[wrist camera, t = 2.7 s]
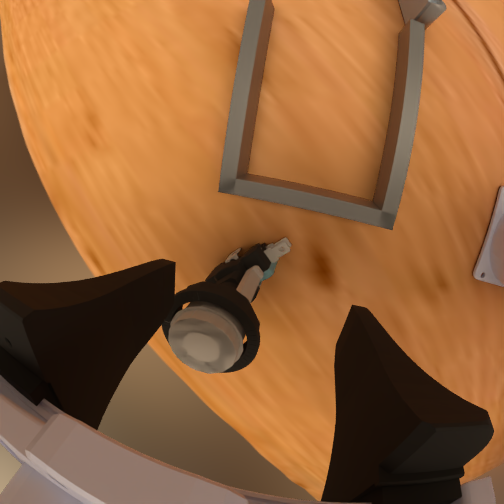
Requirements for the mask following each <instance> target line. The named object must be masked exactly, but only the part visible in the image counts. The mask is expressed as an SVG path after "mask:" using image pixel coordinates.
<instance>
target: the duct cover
mask: <svg viewBox="0 0 504 504" xmlns="http://www.w3.org/2000/svg"><path fill="white" fill-rule="evenodd" d="M398 1H399V4H400V8H401V11H402V14H403V18H404V21H405V25H406V23H407V22H408V21H409V20H410V19H413V20H415V21H418V22H421V23H423V24H425V30H426V29H427V28H428V27H429V26H430V25H431V24H432V23H433V22H434V21H435V20H436V19H437V18H438V17H439V16H440V15H441V14H442V13H443V12H444V11H445V10H446V5H445V3H444V2H443V1H442V0H398Z"/></svg>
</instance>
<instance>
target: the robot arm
mask: <svg viewBox="0 0 504 504" xmlns="http://www.w3.org/2000/svg"><path fill="white" fill-rule="evenodd" d="M175 265H176V262H173V261H169V260H165V259H159V260H154V261H151V262H147V263H144V264H141V265H138V266H134V267H131V268H128V269H125V270H121V271H118V272H114V273H111V274H107V275H103V276H99V277H95V278H90V279H85V280H79V281H71V282H61V283H19V282H10V281H3V282H1V283H0V443H1V444H2V445H3V446H4V447H5V448H6V449H7V450H8V451H9V452H10V453H11V454H12V455H13V456H14V457H15V458H16V459H17V460H18V461H19V462H20V463H21V464H22V466H21V467H20V468H19V470H18V471H17V472H16V474H15V475H14V476H13V478H12V479H11V481H10V482H9V483H8V485H7V486H6V487H5V489H4V490H3V491H2V493H1V494H0V504H496V500H495V495H494V490H493V485H492V480H491V477H490V476H488V477H485V478H481V479H477V480H473V481H469V482H467V483H464V484H462V485H460V480H459V478H461V477H463V476H464V468H463V466H464V465H465V464H466V463H468V462H469V461H470V460H471V459H472V458H474V457H475V456H476V455H477V454H478V453H479V452H480V451H482V450H483V449H484V448H485V446H486V445H487V444H488V443H489V441H490V440H491V438H492V436H493V433H494V429H493V426H492V423H491V420H490V417H489V414H488V412H487V411H486V410H484V409H482V408H480V407H478V406H476V405H474V404H472V403H470V402H468V401H466V400H464V399H462V398H461V397H459V396H458V395H456V394H454V393H453V392H451V391H450V390H448V389H447V388H445V387H444V386H442V385H441V384H440V383H438V382H437V381H436V380H434V379H433V378H432V377H430V376H429V375H428V374H427V373H426V372H424V371H423V370H422V369H421V368H420V367H419V366H418V365H417V364H416V363H415V362H413V361H412V360H411V359H410V358H409V357H408V356H407V355H406V353H405V352H404V351H403V350H402V349H401V348H400V347H399V346H398V345H397V344H396V342H395V341H394V340H393V339H392V338H391V336H390V335H389V334H388V333H387V332H386V330H385V329H384V328H383V327H382V325H381V324H380V323H379V322H378V320H377V319H376V318H375V317H374V316H373V314H372V313H371V312H370V311H369V310H368V309H367V308H365V307H361V306H356V305H352V306H351V309H350V311H349V314H348V317H347V319H346V322H345V324H344V327H343V329H342V331H341V334H340V336H339V339H338V341H337V343H336V350H335V363H334V370H335V392H336V424H335V433H334V441H333V448H332V454H331V460H330V465H329V470H328V475H327V479H326V484H325V488H324V491H323V495H322V499H321V501H310V500H300V499H292V498H285V497H278V496H272V495H266V494H261V493H256V492H251V491H247V490H242V489H238V488H234V487H230V486H226V485H223V484H220V483H218V482H215V481H212V480H209V479H207V478H205V477H202V476H199V475H197V474H194V473H191V472H188V471H185V470H182V469H179V468H177V467H174V466H171V465H169V464H166V463H164V462H161V461H159V460H156V459H154V458H152V457H149V456H147V455H145V454H142V453H140V452H138V451H136V450H134V449H131V448H129V447H127V446H125V445H123V444H121V443H119V442H117V441H115V440H114V439H112V438H110V437H108V436H106V435H104V434H102V433H101V432H99V431H97V429H98V427H99V424H100V422H101V420H102V417H103V415H104V413H105V411H106V409H107V406H108V404H109V402H110V400H111V398H112V396H113V394H114V392H115V391H116V389H117V387H118V385H119V383H120V381H121V380H122V378H123V376H124V374H125V373H126V371H127V369H128V368H129V366H130V364H131V363H132V362H133V360H134V359H135V357H136V356H137V355H138V353H139V352H140V351H141V349H142V348H143V347H144V346H145V345H146V343H147V342H148V341H149V340H150V339H151V337H152V336H153V335H154V334H155V332H156V331H157V330H158V329H159V327H160V326H161V325H162V323H163V322H164V321H165V319H166V317H167V316H168V314H169V312H170V311H171V309H172V307H173V305H174V295H175ZM482 273H483V275H482V276H481V274H482ZM473 276H474V278H475V279H477V280H481V281H484V282H488V283H491V284H495V285H498V286H502V287H504V186H501V187H500V189H499V193H498V197H497V201H496V205H495V208H494V212H493V216H492V219H491V222H490V226H489V229H488V232H487V235H486V238H485V241H484V244H483V247H482V250H481V253H480V255H479V258H478V261H477V263H476V266H475V268H474V271H473Z"/></svg>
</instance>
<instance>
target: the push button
mask: <svg viewBox="0 0 504 504" xmlns="http://www.w3.org/2000/svg"><path fill="white" fill-rule="evenodd" d="M290 247H291V243H290V242H289V240H288V239H287V238H286V237H285V238H283V239H282V240H280V241H278V242H277V243H275V244H273V243H271V244H269V245H268V246H267V245H266V244H265V243H263V244H261V245H260V244H259V243H258V244H256V245H255V246H253V247H252V248H251V249H250V250H248V251H247V252H246V253H245V254H244V255H243V256H242V257H240V258H239V257H238V255H237V254H238V253H239V251H240V250H241V248H239V249H237V250H236V251H234V252H233V253H231V254H230V255H229V256H228V258H227V259H226V261H225V263H224V262H223V263H221V264H220V265H218V266H217V267H215V268H214V270H213V271H212V272H211V274H210V275H209V276H208V277H207V279H206V280H205V281H206V282H204V281H203V282H199V283H196V284H193V285H190V286H188V287H187V289H184V290H182V291H180V292H178V293H176V294H175V295H174V305H173V307H172V309H171V311H170V312H169V314H168V316H167V317H166V319H165V321H164V322H163V323H162V329H163V332H164V335H165V337H166V339H167V341H168V343H169V345H170V346H171V348H172V351H173V352H174V354H175V355H176V356H177V358H179V359H180V360H181V361H182V362H183V363H184V364H186V365H188V366H189V367H190V368H193V369H195V370H197V371H201V372H205V373H210V374H211V373H227V372H234V371H238V370H240V369H242V368H244V367H246V366H247V365H249V364H250V363H251V362H252V361H253V359H254V358H255V356H256V354H257V352H258V348H259V345H260V333H259V326H260V323H259V320H258V318H257V316H256V314H255V312H254V310H253V308H252V306H251V304H250V303H251V302H253V301H254V299H255V298H256V296H257V294H258V291H259V289H260V285H261V284H262V281H263V280H266V279H268V278H269V277H271V276H272V275H273V274H274V270H275V267H276V264H277V261H278V260H279V257H281V256H283V255H284V254H286V253H288V252H290ZM283 251H284V252H283ZM188 302H190V304H189V305H188V306H187V307H186V308H185V309H183V310H182V307H183V304H185V303H188ZM245 334H246V336H247V341H246V342H245V343H244V344H243V339H244V337H245Z"/></svg>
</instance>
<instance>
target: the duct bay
mask: <svg viewBox="0 0 504 504" xmlns="http://www.w3.org/2000/svg"><path fill="white" fill-rule="evenodd" d="M273 14H274V6H273V3H272V1H271V0H250V1H249V6H248V11H247V16H246V21H245V26H244V31H243V36H242V41H241V47H240V52H239V58H238V63H237V69H236V75H235V81H234V87H233V93H232V99H231V105H230V112H229V118H228V125H227V132H226V138H225V146H224V153H223V160H222V168H221V175H220V183H219V191H218V192H222V193H228V194H233V195H239V196H244V197H249V198H254V199H259V200H264V201H269V202H274V203H279V204H284V205H289V206H293V207H298V208H303V209H307V210H312V211H316V212H321V213H325V214H329V215H333V216H338V217H342V218H346V219H350V220H354V221H358V222H362V223H366V224H370V225H374V226H378V227H382V228H386V229H389V230H392V229H393V226H394V222H395V219H396V215H397V212H398V208H399V204H400V200H401V196H402V192H403V188H404V184H405V180H406V175H407V171H408V166H409V161H410V156H411V151H412V146H413V141H414V135H415V129H416V123H417V116H418V109H419V101H420V93H421V84H422V73H423V59H424V35H425V24H423V23H421V22H418V21H415V20H413V19H410V20H409V21H408V22H407V23H406V25H405V26H404V27H403V29H402V30H401V31H400V33H399V39H398V53H397V64H396V74H395V83H394V91H393V99H392V106H391V112H390V119H389V125H388V131H387V136H386V142H385V147H384V152H383V157H382V162H381V167H380V172H379V176H378V181H377V185H376V189H375V194H374V198H373V201H371V200H367V199H363V198H359V197H355V196H351V195H347V194H343V193H339V192H335V191H331V190H326V189H322V188H317V187H313V186H308V185H304V184H299V183H294V182H289V181H284V180H279V179H274V178H269V177H263V176H258V175H252V174H247V172H248V165H249V159H250V152H251V146H252V139H253V133H254V127H255V120H256V114H257V108H258V102H259V96H260V90H261V83H262V77H263V71H264V66H265V60H266V54H267V48H268V42H269V36H270V31H271V25H272V20H273Z"/></svg>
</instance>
